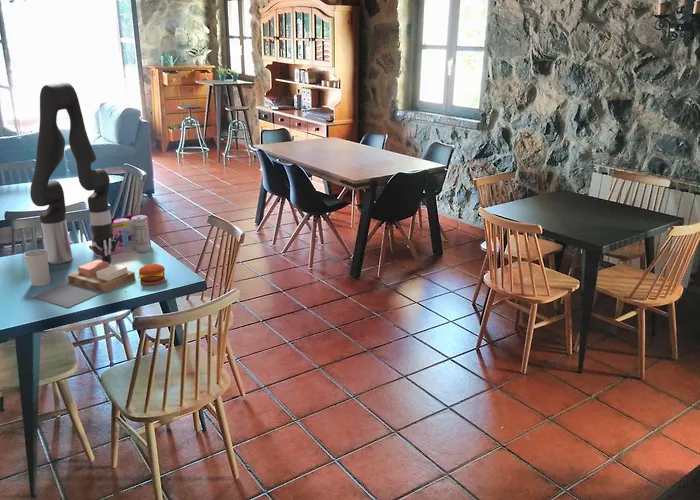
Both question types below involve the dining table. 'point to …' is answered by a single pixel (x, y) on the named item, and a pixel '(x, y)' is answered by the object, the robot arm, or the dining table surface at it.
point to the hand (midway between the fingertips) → (107, 263)
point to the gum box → (123, 233)
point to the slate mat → (68, 294)
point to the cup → (37, 266)
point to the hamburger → (152, 274)
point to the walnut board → (100, 281)
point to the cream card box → (111, 272)
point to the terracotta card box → (92, 267)
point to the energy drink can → (141, 234)
